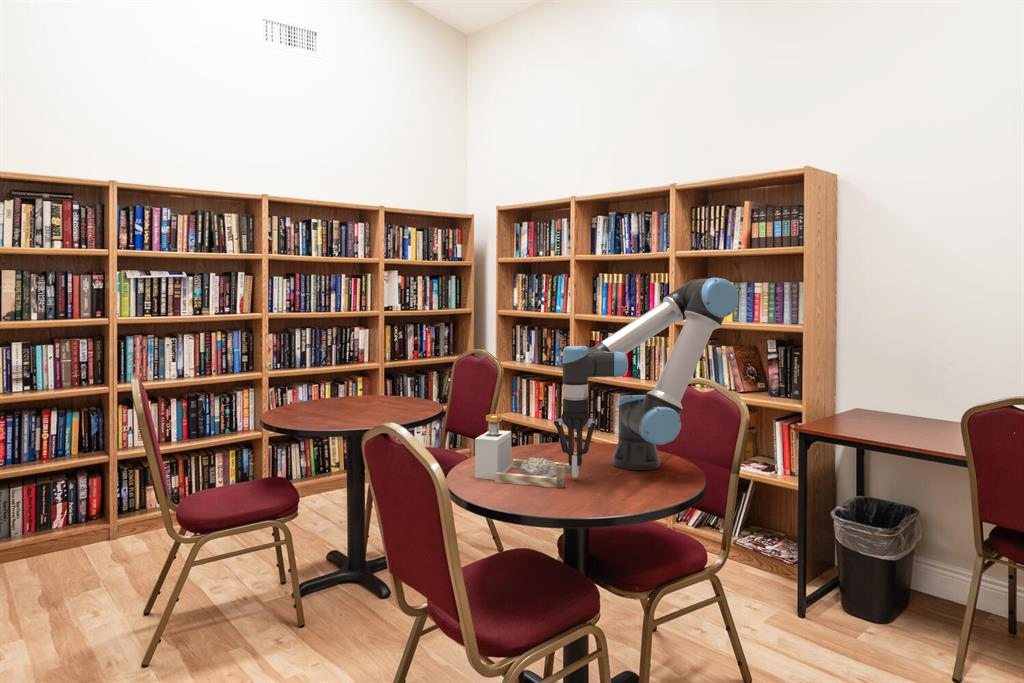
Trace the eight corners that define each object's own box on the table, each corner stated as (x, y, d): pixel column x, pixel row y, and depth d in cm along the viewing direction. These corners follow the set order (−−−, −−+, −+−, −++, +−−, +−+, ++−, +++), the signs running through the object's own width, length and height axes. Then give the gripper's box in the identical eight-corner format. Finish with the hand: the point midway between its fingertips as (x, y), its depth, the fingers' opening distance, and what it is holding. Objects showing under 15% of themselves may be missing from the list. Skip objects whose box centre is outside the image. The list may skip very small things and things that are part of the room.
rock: (537, 471, 208) (537, 453, 208) (562, 478, 200) (562, 459, 199) (511, 477, 201) (511, 458, 201) (535, 485, 193) (535, 465, 192)
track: (576, 471, 207) (576, 452, 207) (563, 488, 189) (563, 467, 189) (514, 466, 213) (514, 448, 213) (495, 482, 195) (495, 462, 195)
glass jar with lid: (503, 441, 206) (503, 414, 206) (498, 445, 202) (498, 417, 201) (488, 440, 208) (488, 413, 207) (483, 443, 203) (483, 416, 203)
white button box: (511, 468, 211) (511, 431, 210) (497, 479, 198) (497, 440, 197) (490, 466, 213) (490, 429, 212) (475, 477, 200) (475, 438, 199)
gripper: (599, 397, 198) (599, 474, 199) (557, 395, 202) (557, 471, 203) (594, 400, 191) (594, 481, 192) (550, 399, 195) (551, 477, 196)
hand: (575, 476), depth 198 cm, fingers closed
